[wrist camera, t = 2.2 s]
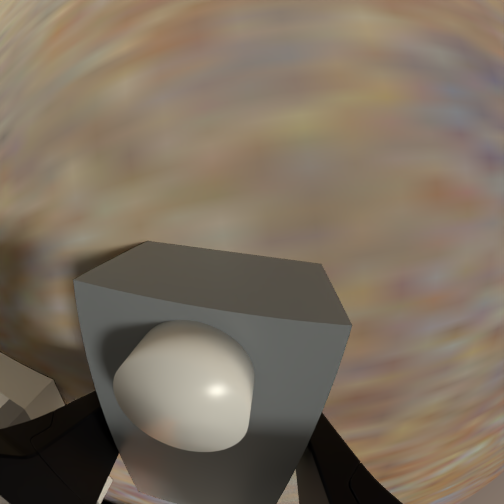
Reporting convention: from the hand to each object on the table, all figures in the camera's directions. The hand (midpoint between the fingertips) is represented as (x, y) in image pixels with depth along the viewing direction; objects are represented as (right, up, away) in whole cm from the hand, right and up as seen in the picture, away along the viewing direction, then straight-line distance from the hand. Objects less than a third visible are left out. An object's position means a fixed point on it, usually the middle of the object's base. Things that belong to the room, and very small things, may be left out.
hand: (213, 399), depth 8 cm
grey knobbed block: (0, 0, +1) cm, 2 cm away
